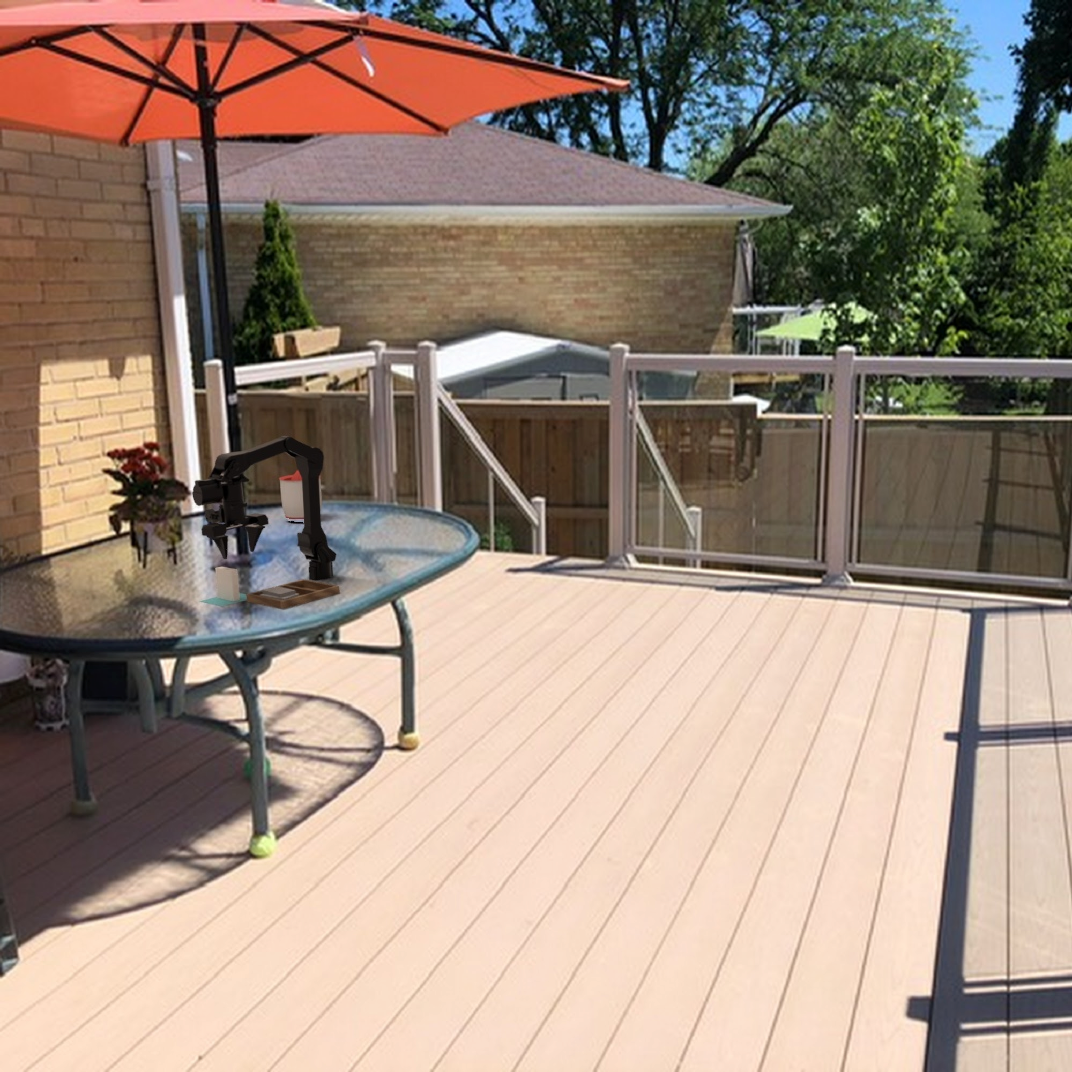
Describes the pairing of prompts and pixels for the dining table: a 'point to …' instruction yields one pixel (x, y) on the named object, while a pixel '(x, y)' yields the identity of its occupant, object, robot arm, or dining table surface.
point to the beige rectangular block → (227, 583)
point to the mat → (224, 602)
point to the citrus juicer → (293, 496)
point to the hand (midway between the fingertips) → (238, 555)
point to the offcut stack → (279, 593)
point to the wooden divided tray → (302, 587)
